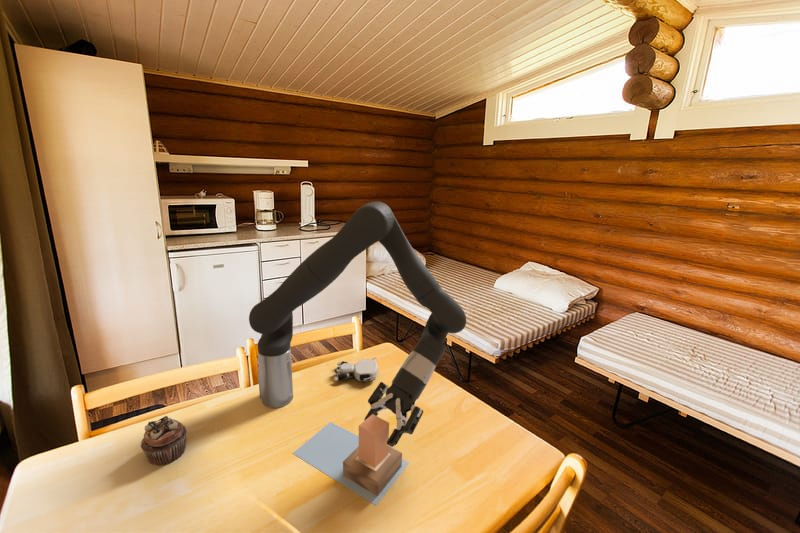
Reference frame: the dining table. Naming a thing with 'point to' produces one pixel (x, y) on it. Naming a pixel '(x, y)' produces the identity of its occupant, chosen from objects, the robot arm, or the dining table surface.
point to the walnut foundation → (372, 470)
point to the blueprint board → (338, 458)
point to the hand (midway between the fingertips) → (377, 434)
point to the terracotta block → (373, 440)
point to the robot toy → (357, 370)
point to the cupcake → (164, 441)
